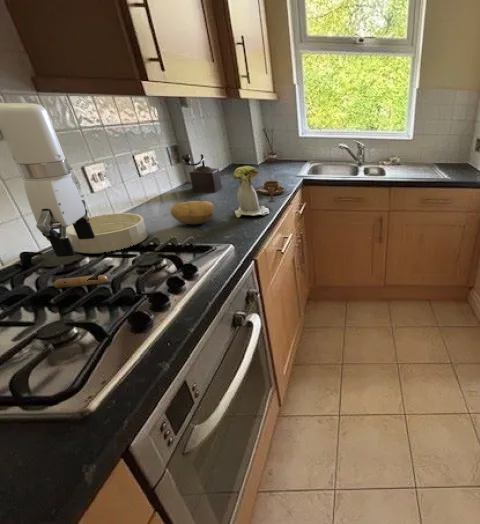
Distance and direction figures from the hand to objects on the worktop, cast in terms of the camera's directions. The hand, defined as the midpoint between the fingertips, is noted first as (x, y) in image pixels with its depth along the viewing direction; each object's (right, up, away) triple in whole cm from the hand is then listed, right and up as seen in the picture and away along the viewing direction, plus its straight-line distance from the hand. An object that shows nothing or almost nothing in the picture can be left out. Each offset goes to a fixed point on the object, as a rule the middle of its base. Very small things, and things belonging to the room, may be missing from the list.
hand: (77, 246), depth 75 cm
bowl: (-14, +3, +28) cm, 31 cm away
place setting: (+19, +28, +81) cm, 87 cm away
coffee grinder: (-12, +30, +82) cm, 89 cm away
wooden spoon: (-1, -9, +5) cm, 10 cm away
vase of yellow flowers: (+20, +16, +56) cm, 61 cm away
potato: (+4, +10, +44) cm, 45 cm away
